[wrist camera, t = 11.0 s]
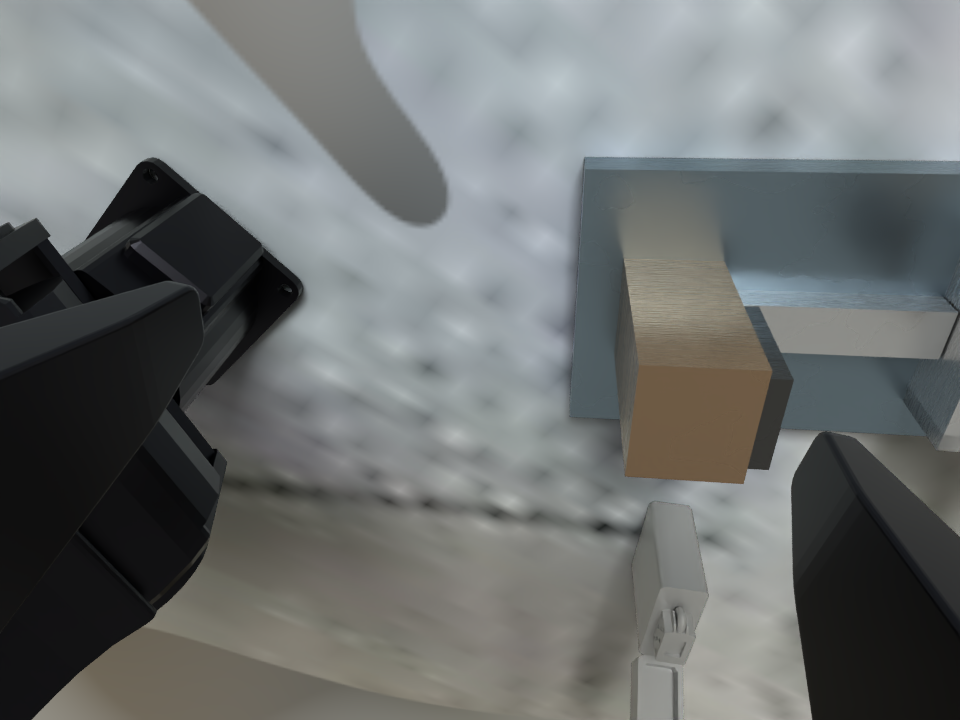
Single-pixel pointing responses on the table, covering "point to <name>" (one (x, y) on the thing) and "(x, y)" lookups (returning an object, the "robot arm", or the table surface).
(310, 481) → the table surface
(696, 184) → the rail
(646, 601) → the lighter
